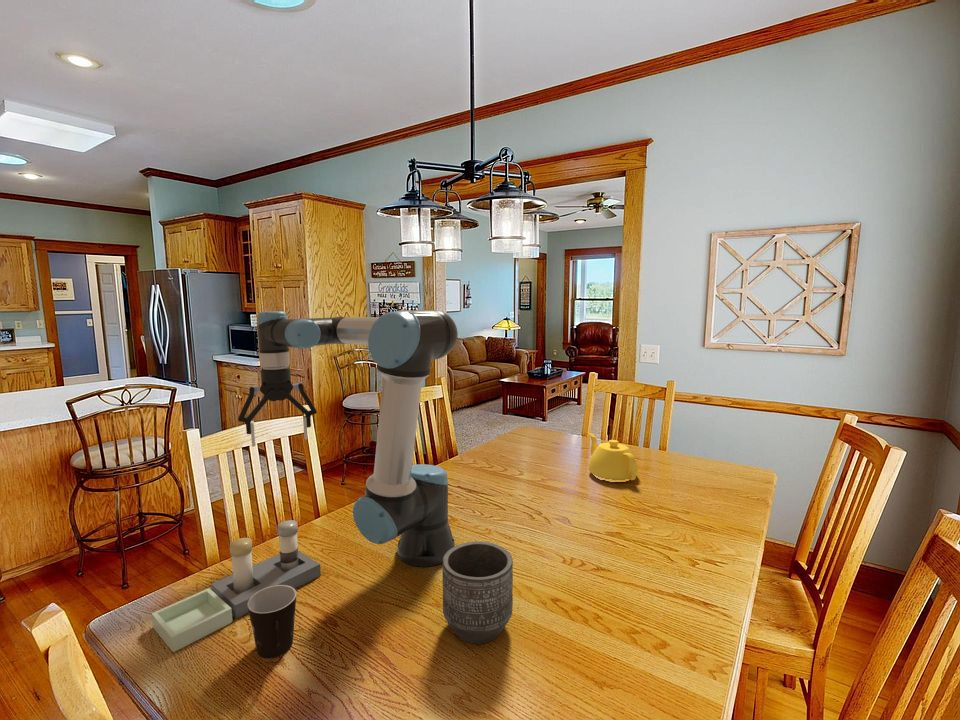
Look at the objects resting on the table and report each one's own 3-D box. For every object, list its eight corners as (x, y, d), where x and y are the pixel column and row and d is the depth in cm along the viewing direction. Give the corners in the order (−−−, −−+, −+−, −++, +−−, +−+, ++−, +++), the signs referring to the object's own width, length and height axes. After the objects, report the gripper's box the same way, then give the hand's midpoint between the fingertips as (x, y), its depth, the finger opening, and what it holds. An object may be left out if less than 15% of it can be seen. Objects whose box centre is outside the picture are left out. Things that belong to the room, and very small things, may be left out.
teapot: (571, 468, 188) (571, 434, 187) (605, 461, 196) (606, 428, 195) (615, 490, 166) (617, 453, 165) (652, 482, 174) (654, 445, 173)
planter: (457, 661, 89) (457, 587, 87) (433, 615, 101) (432, 549, 100) (524, 639, 94) (525, 569, 92) (494, 598, 107) (494, 535, 105)
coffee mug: (260, 631, 96) (257, 586, 95) (304, 629, 97) (301, 583, 96) (236, 677, 85) (232, 626, 83) (286, 674, 86) (283, 623, 84)
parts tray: (232, 622, 99) (231, 608, 99) (173, 652, 91) (171, 637, 90) (210, 600, 106) (209, 587, 106) (152, 627, 98) (151, 613, 97)
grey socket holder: (320, 575, 116) (318, 524, 114) (236, 618, 100) (232, 560, 99) (294, 558, 123) (291, 510, 121) (211, 596, 108) (207, 542, 106)
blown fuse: (303, 574, 116) (300, 523, 115) (286, 582, 113) (283, 530, 111) (293, 567, 119) (291, 518, 117) (276, 575, 116) (273, 525, 114)
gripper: (321, 362, 140) (325, 433, 143) (225, 368, 130) (231, 444, 133) (323, 366, 134) (327, 439, 136) (223, 372, 124) (229, 451, 126)
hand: (280, 441), depth 135 cm, fingers open, 13 cm apart
